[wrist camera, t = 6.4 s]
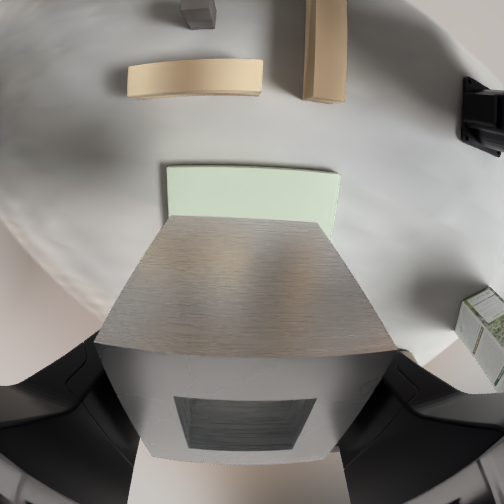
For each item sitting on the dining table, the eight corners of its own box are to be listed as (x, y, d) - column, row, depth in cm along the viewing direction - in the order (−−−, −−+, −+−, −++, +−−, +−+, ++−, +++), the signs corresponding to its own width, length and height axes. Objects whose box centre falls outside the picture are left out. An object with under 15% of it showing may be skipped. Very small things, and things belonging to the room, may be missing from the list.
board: (337, 172, 19) (340, 174, 18) (314, 307, 24) (316, 312, 24) (169, 165, 18) (166, 167, 18) (179, 305, 24) (178, 310, 23)
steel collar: (317, 222, 9) (397, 349, 4) (295, 332, 12) (323, 459, 6) (170, 215, 9) (93, 342, 4) (179, 327, 11) (152, 456, 6)
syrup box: (453, 332, 28) (505, 411, 15) (461, 298, 25) (528, 382, 12) (481, 317, 27) (534, 387, 14) (490, 283, 25) (555, 354, 12)
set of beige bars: (331, -28, 11) (348, -50, 8) (330, 104, 17) (351, 100, 13) (158, -32, 11) (144, -55, 7) (143, 99, 16) (120, 95, 12)
